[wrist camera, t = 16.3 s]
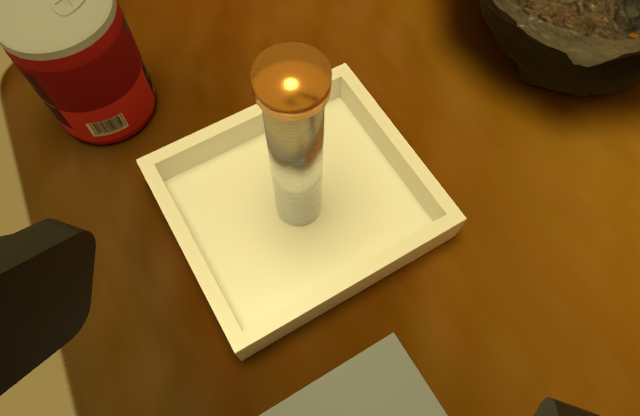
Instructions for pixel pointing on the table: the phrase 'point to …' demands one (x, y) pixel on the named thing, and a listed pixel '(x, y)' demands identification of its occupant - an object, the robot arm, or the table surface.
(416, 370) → the block
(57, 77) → the canned food
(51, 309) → the robot arm
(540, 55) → the stone bowl
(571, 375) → the table surface
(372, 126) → the pin tray
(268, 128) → the pin
